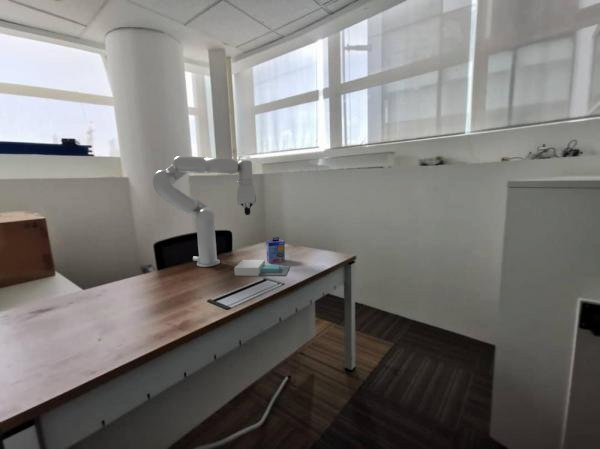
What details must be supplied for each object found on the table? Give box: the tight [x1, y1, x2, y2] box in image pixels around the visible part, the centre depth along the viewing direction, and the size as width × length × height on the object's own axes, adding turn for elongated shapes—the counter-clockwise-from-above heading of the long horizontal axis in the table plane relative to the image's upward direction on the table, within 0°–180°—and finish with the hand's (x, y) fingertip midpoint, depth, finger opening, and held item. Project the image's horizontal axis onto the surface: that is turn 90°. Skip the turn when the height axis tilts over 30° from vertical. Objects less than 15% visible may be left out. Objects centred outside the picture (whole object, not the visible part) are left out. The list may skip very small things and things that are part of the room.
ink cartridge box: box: [265, 236, 286, 264], centre depth 159 cm, size 10×6×14 cm, turn 115°
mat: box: [259, 266, 291, 277], centre depth 142 cm, size 13×14×1 cm
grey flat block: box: [234, 259, 266, 277], centre depth 143 cm, size 12×14×4 cm
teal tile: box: [260, 264, 281, 273], centre depth 142 cm, size 9×6×2 cm, turn 83°
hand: (247, 214), depth 160 cm, fingers closed
